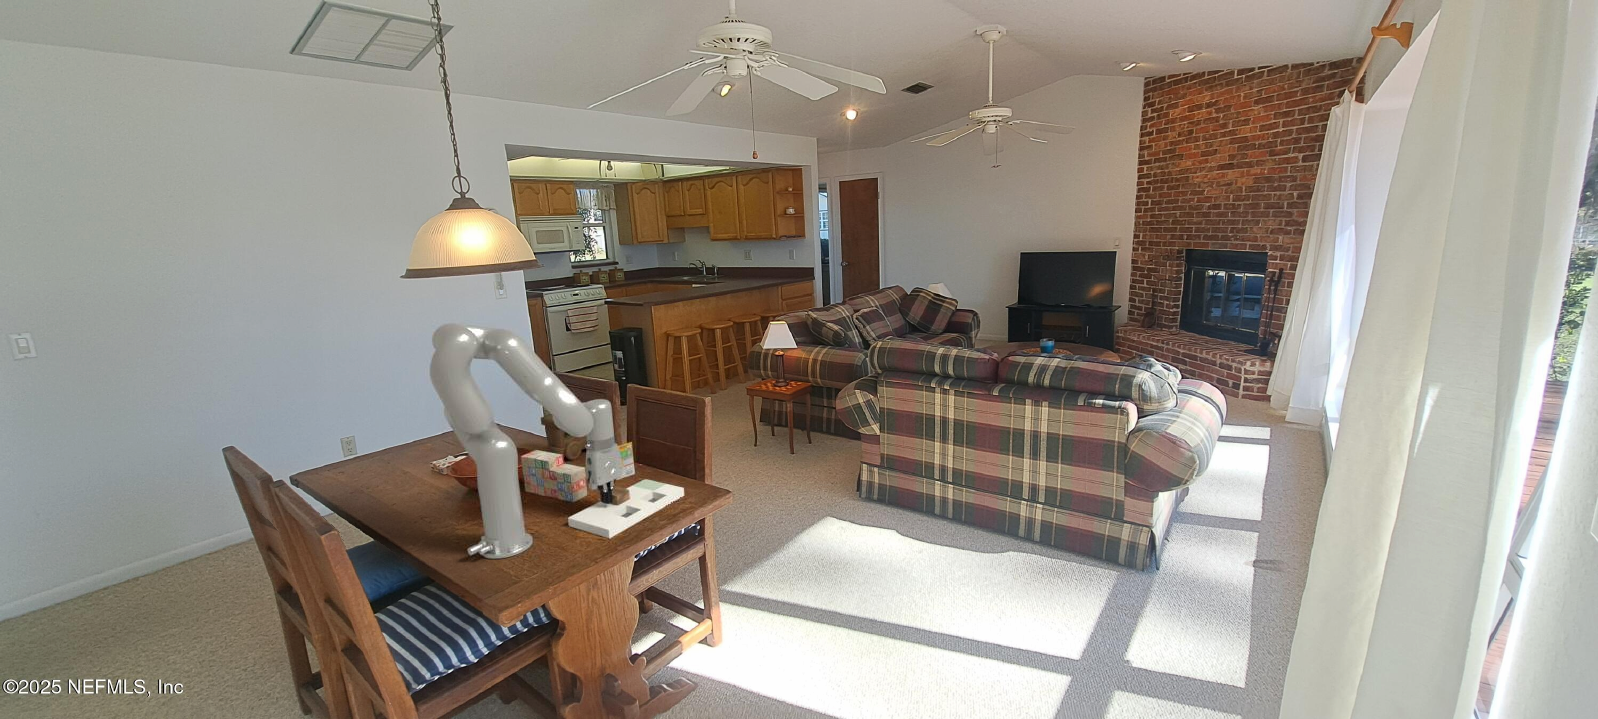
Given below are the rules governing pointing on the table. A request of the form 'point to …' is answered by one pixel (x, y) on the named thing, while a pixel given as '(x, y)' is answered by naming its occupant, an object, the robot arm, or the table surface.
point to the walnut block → (620, 495)
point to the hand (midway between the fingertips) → (607, 502)
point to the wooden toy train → (562, 440)
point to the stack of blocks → (553, 476)
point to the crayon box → (627, 460)
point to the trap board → (626, 509)
